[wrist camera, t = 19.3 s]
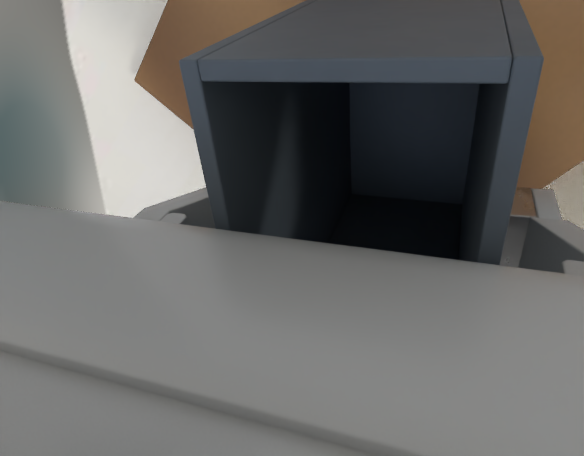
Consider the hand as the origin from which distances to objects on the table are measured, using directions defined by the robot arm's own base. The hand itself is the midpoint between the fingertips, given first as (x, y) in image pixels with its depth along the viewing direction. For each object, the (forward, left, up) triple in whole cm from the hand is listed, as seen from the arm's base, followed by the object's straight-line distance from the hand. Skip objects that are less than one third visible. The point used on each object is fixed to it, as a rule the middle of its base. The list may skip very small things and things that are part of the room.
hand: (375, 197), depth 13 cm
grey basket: (-4, -3, -2) cm, 5 cm away
